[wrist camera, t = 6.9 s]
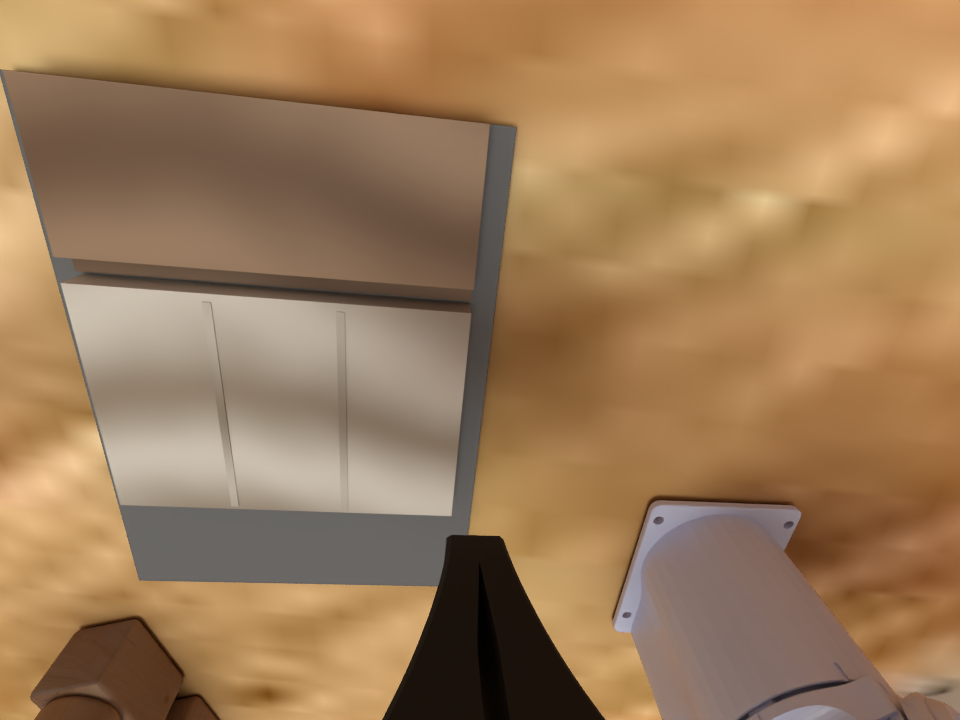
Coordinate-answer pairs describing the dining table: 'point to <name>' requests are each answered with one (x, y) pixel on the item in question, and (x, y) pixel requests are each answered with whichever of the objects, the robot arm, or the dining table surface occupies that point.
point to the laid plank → (252, 188)
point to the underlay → (327, 535)
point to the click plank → (273, 394)
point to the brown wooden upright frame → (114, 679)
